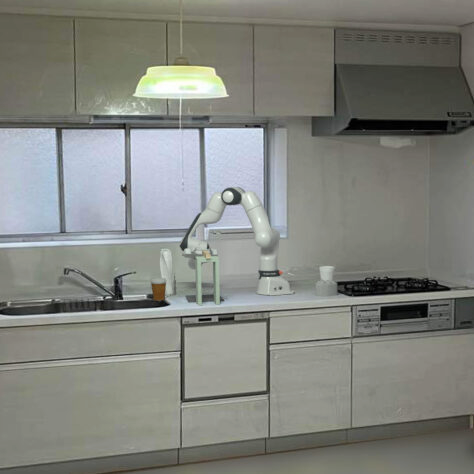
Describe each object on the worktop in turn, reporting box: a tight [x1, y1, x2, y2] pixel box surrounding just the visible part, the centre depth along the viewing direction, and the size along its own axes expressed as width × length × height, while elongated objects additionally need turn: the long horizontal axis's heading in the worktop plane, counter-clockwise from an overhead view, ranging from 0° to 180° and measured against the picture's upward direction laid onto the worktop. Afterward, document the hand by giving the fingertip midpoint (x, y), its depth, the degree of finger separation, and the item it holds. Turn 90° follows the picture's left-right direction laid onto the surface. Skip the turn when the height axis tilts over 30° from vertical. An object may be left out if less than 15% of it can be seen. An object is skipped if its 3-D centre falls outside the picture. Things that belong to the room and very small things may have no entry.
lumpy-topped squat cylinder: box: [314, 279, 338, 297], centre depth 426 cm, size 10×13×9 cm
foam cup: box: [318, 265, 335, 281], centre depth 453 cm, size 10×9×13 cm
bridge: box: [195, 256, 221, 306], centre depth 402 cm, size 12×10×26 cm
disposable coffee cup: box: [149, 277, 167, 301], centre depth 419 cm, size 10×10×12 cm
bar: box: [202, 250, 211, 259], centre depth 405 cm, size 19×2×2 cm, turn 9°
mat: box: [185, 293, 225, 303], centre depth 420 cm, size 20×21×1 cm
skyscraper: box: [159, 248, 178, 297], centre depth 435 cm, size 8×8×28 cm
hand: (203, 248), depth 425 cm, fingers open, 8 cm apart
